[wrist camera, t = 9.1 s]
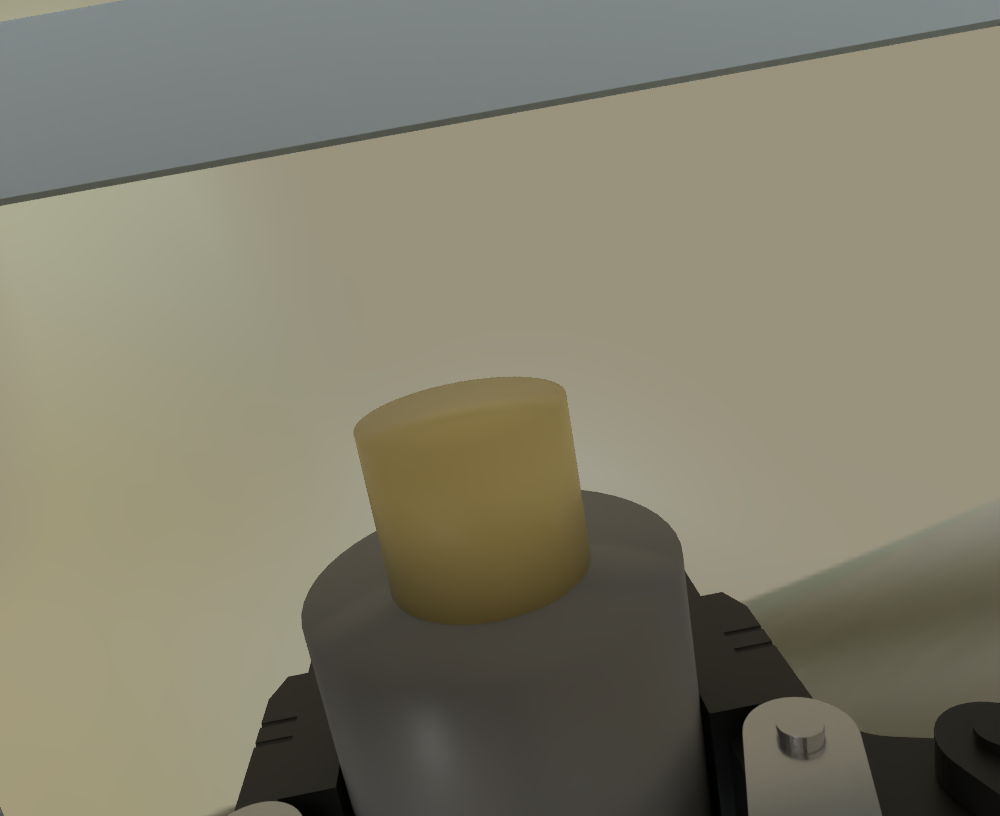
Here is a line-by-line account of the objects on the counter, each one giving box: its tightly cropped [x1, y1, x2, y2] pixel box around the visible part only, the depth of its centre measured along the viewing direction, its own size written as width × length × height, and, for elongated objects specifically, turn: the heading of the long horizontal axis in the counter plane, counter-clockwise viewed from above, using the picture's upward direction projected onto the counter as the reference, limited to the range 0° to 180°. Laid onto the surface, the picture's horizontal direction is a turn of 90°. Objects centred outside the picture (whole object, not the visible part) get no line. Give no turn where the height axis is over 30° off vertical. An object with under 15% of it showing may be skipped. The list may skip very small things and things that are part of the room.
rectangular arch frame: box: [0, 0, 1000, 816], centre depth 14 cm, size 25×2×20 cm, turn 94°
